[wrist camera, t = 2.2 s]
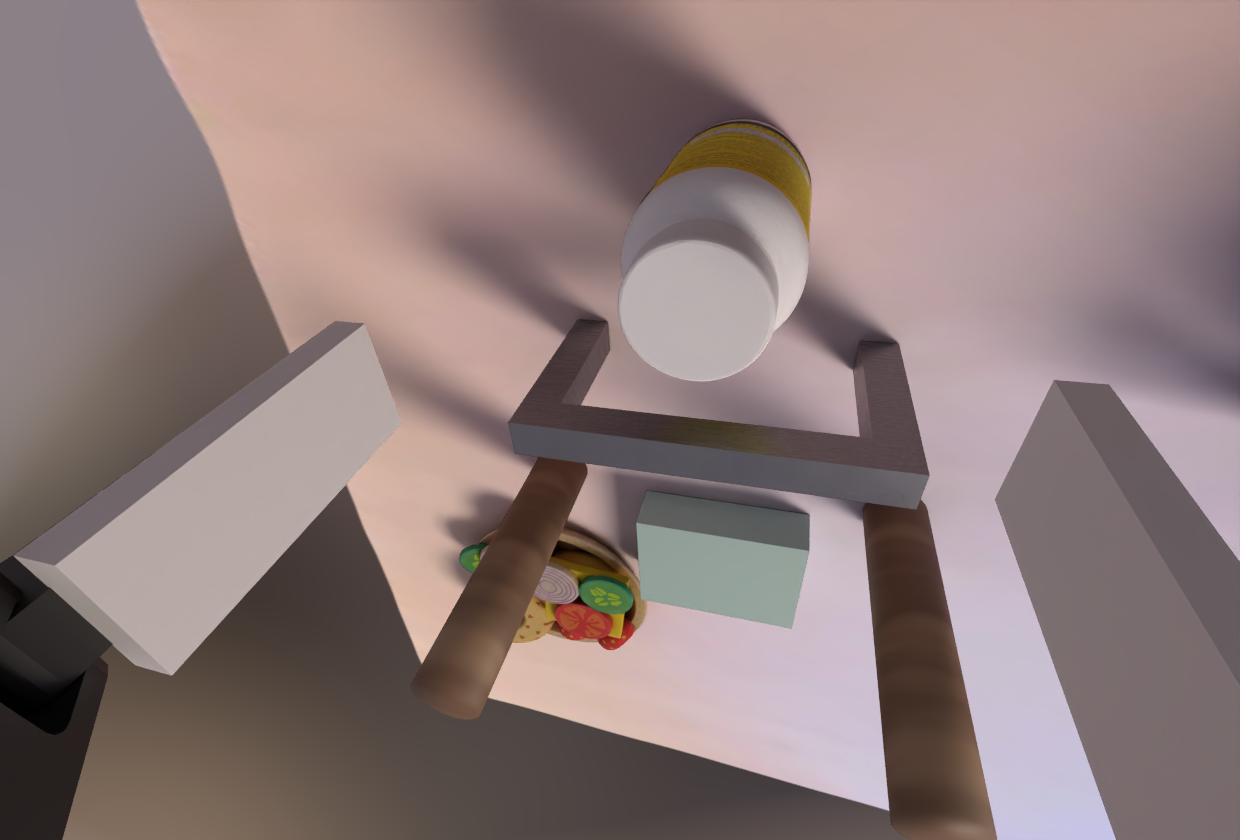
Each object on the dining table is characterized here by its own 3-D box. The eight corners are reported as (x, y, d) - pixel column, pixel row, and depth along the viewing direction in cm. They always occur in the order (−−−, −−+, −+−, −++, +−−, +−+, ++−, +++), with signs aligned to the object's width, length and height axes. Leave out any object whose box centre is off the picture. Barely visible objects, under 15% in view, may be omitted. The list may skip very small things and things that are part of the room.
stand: (646, 490, 32) (636, 522, 30) (809, 514, 30) (809, 551, 28) (649, 566, 37) (641, 599, 35) (792, 592, 34) (791, 628, 32)
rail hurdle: (577, 319, 26) (508, 422, 20) (898, 343, 23) (929, 475, 17) (580, 347, 27) (515, 453, 21) (890, 374, 24) (916, 509, 18)
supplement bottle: (663, 119, 20) (578, 203, 13) (821, 112, 19) (826, 203, 12) (667, 262, 24) (602, 395, 16) (802, 266, 22) (797, 413, 15)
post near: (869, 488, 28) (903, 800, 17) (935, 496, 27) (1012, 828, 17) (857, 528, 30) (881, 832, 19) (918, 537, 29) (978, 859, 19)
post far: (535, 443, 32) (401, 672, 22) (584, 450, 32) (470, 689, 21) (543, 480, 34) (422, 708, 24) (589, 487, 33) (487, 726, 23)
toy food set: (483, 600, 46) (464, 635, 43) (464, 488, 37) (439, 524, 35) (642, 645, 43) (632, 685, 41) (660, 537, 35) (648, 579, 33)
